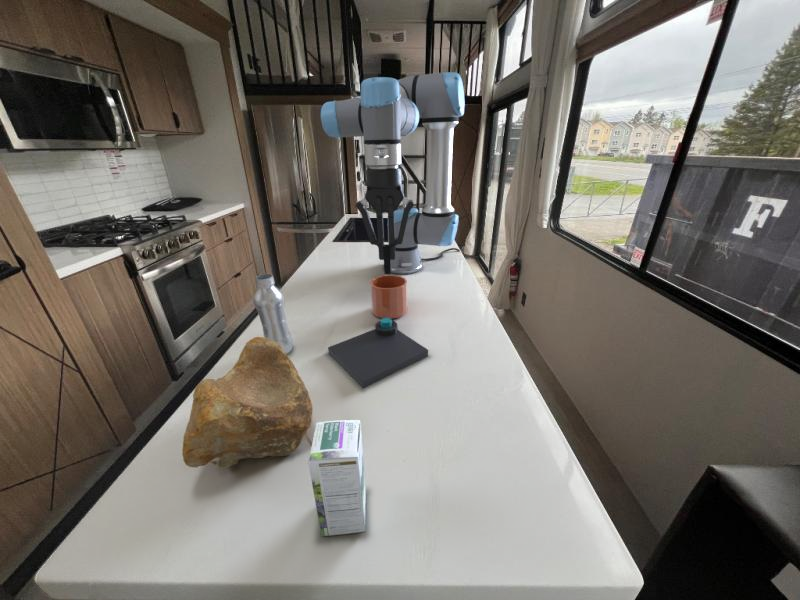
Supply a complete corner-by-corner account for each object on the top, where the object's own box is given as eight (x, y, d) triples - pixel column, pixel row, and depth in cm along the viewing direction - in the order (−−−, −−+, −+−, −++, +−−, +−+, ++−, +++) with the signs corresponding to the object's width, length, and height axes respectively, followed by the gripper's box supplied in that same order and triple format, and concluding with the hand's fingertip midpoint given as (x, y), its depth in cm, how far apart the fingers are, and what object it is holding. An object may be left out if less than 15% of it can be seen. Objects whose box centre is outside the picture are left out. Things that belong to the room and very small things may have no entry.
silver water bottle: (300, 347, 81) (286, 272, 73) (283, 362, 76) (265, 284, 67) (278, 342, 83) (262, 270, 75) (260, 357, 78) (241, 280, 69)
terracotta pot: (393, 301, 104) (392, 272, 99) (414, 313, 96) (414, 282, 92) (365, 311, 98) (363, 280, 94) (385, 324, 91) (384, 292, 86)
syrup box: (326, 494, 47) (313, 420, 41) (367, 490, 47) (360, 417, 41) (321, 537, 42) (304, 461, 35) (367, 533, 42) (358, 456, 36)
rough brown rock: (287, 510, 46) (278, 432, 40) (175, 494, 47) (149, 415, 41) (333, 398, 67) (332, 336, 61) (255, 388, 68) (247, 326, 62)
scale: (389, 328, 89) (388, 317, 87) (429, 356, 77) (429, 343, 75) (328, 353, 79) (326, 341, 77) (363, 388, 67) (362, 375, 65)
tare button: (387, 322, 85) (387, 316, 85) (393, 326, 83) (393, 320, 83) (378, 325, 84) (378, 319, 83) (384, 330, 82) (384, 324, 81)
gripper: (349, 169, 65) (358, 278, 75) (414, 167, 64) (414, 277, 75) (355, 166, 71) (363, 266, 82) (414, 165, 71) (414, 266, 81)
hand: (387, 271), depth 78 cm, fingers closed
